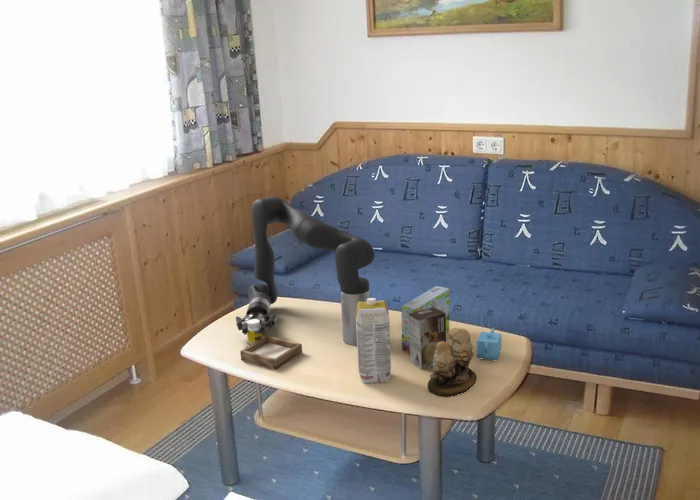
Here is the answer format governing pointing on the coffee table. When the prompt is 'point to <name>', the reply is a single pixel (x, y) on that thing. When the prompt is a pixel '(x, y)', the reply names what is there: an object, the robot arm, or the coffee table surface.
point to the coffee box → (426, 335)
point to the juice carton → (373, 341)
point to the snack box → (429, 299)
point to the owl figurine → (452, 365)
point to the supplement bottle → (253, 331)
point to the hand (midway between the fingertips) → (253, 331)
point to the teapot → (489, 345)
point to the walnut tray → (271, 352)
